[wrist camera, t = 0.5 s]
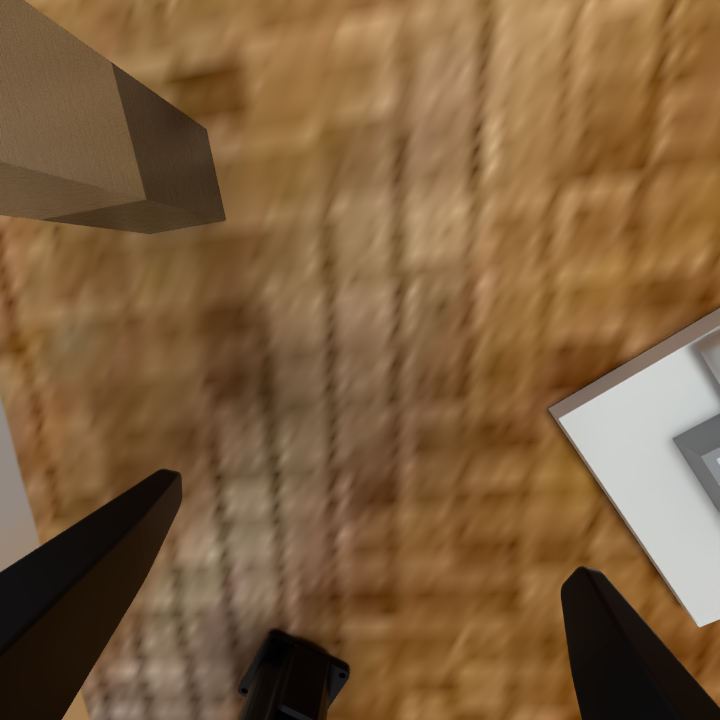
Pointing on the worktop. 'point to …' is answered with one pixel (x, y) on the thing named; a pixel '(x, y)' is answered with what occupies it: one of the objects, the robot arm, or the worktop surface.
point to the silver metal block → (93, 138)
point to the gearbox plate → (661, 456)
